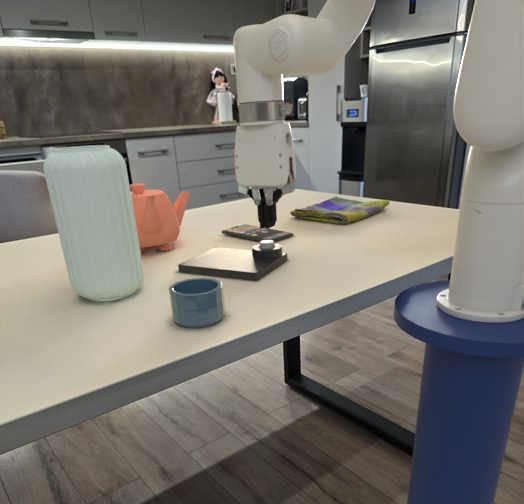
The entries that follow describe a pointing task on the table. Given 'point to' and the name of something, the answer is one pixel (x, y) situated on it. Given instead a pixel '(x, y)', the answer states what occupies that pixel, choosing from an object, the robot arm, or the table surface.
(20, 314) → the table surface
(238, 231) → the smartphone
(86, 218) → the vase
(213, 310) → the bowl
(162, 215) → the teapot
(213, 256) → the scale
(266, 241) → the button
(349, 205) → the dish towel
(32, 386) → the table surface
